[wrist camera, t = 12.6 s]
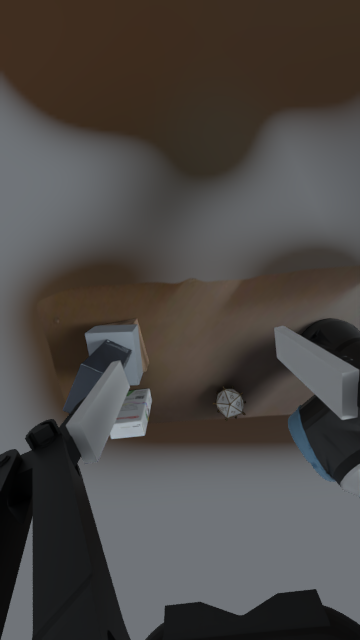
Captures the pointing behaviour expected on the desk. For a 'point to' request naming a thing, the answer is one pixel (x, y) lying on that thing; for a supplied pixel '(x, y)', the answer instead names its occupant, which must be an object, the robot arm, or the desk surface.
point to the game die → (230, 403)
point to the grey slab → (125, 338)
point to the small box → (95, 370)
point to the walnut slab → (142, 347)
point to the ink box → (133, 415)
